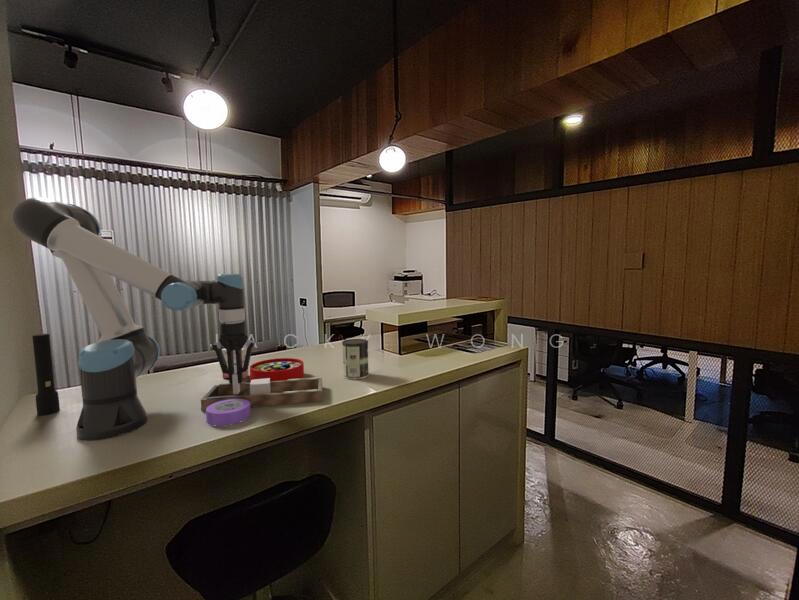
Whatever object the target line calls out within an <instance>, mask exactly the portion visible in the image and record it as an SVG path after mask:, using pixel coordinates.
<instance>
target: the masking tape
mask: <svg viewBox="0 0 799 600" xmlns="http://www.w3.org/2000/svg"><path fill="white" fill-rule="evenodd" d="M250 414H252V413H251V407H250V402H249V401H248V400H245V399H229V400H223V401H219V402H216V403H213V404H211V405H209V406H208V407H207V408H206V411H205V416H206V424H207V423H208V425H209V424H210V425H209V426H212V425H216V426H215V427H224V426H223V425H228V426H231V425H230V424H233V425H236V424H235V423H237V424H239V423H238V422H240V421H242V422H244V421H243V420H245V419H246V420H248V419H249V418H250V417H251V415H250ZM249 416H250V417H249ZM248 417H249V418H248ZM247 418H248V419H247ZM246 420H245V421H246ZM240 423H241V422H240Z"/></svg>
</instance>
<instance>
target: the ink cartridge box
mask: <svg viewBox="0 0 799 600" xmlns="http://www.w3.org/2000/svg"><path fill="white" fill-rule="evenodd" d="M246 345H247V343H245V345H244V346H243V347H242V352H241V353H242V368H243V366H244V361H245V356H246V351H247V348H248V347H247V346H246ZM221 349H222V352H223V355H224V358H225V361H226V364H227V367H228V359H227V350H226V349H225V348H221ZM233 360H234V370H235V371H234V373H236V372H237V366H236V353H235V350H233ZM221 372H222V371H221ZM242 376H243V378H244V379H245V378H247V377H249V368H248V369H247V371H246V372H243V373H242ZM223 378H229V375H228V374H227V373H223V372H222V379H223Z"/></svg>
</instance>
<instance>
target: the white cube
mask: <svg viewBox="0 0 799 600" xmlns="http://www.w3.org/2000/svg"><path fill="white" fill-rule="evenodd" d="M249 383H250V394H249V395H258V394H271V393H272V392H270V378H265V379H255V380H251V382H249Z"/></svg>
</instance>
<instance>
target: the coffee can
mask: <svg viewBox="0 0 799 600" xmlns="http://www.w3.org/2000/svg"><path fill="white" fill-rule="evenodd" d="M341 345H342V369H343V370H342V372H343V373H342V374H343V375H342V376H343V378H344V379H346V380H356V381H357V380H363V379H366V378H368V377H369V376H370V375H369V374H370V373H369V340H368V339H365V338H350V339H344V340H342V342H341Z"/></svg>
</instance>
